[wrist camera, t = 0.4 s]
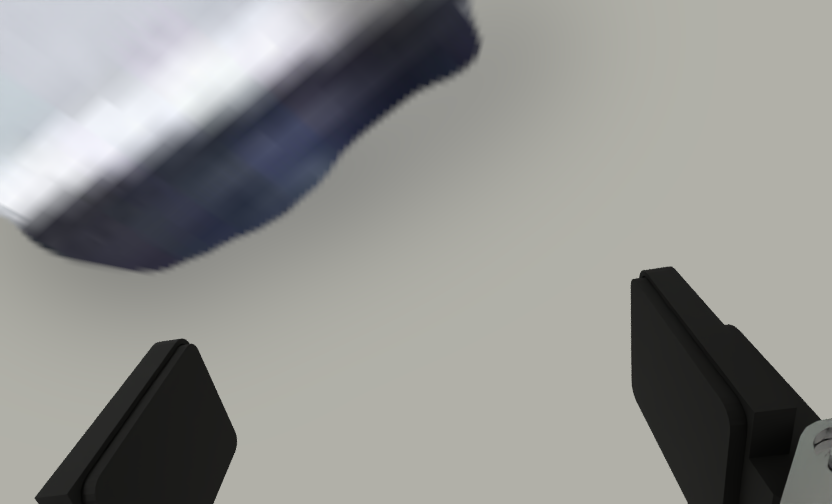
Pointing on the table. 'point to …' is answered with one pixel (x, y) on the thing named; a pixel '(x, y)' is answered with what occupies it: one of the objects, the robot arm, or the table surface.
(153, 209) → the table surface
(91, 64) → the table surface
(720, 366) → the robot arm
